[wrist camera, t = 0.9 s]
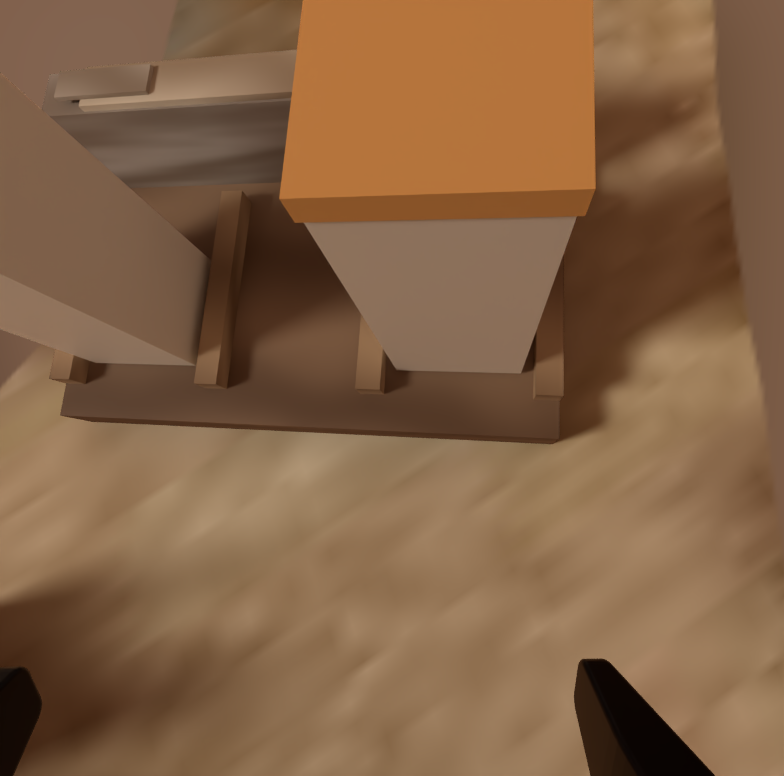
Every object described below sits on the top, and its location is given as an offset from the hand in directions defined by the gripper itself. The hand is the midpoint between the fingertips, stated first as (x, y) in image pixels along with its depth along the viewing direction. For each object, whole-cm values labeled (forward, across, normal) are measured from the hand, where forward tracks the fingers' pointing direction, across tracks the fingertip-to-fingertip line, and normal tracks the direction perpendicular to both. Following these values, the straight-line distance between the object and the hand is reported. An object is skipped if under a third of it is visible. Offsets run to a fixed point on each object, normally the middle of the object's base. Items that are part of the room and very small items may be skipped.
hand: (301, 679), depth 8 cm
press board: (+19, +2, -2) cm, 19 cm away
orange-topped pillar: (+15, -4, -2) cm, 16 cm away
